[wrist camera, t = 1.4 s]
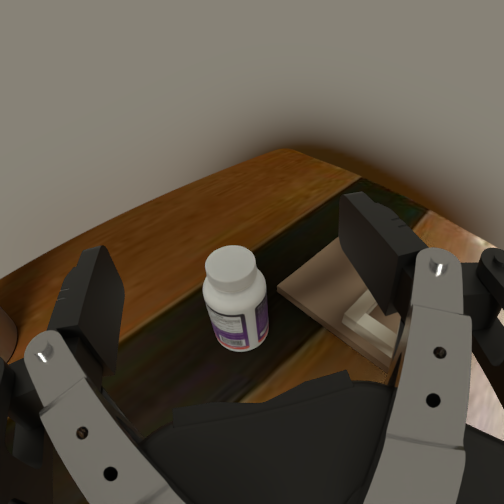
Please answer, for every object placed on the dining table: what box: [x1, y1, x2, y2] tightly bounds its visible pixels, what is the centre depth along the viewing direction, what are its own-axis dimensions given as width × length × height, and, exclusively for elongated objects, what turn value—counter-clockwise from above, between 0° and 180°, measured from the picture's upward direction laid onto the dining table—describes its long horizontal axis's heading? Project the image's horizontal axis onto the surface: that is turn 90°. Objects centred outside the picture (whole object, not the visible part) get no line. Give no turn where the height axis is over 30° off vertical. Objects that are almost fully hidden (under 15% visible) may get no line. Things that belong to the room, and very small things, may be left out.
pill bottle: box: [203, 245, 269, 352], centre depth 28 cm, size 5×5×10 cm
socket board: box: [277, 237, 401, 373], centre depth 32 cm, size 18×12×2 cm, turn 42°
